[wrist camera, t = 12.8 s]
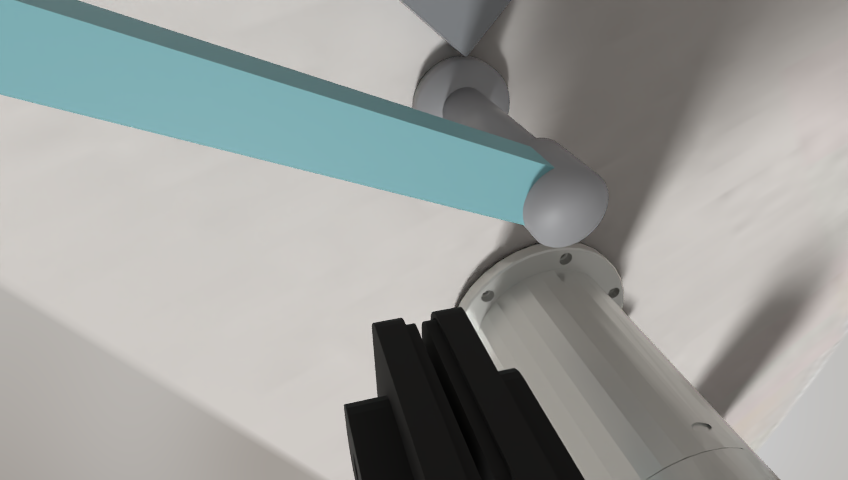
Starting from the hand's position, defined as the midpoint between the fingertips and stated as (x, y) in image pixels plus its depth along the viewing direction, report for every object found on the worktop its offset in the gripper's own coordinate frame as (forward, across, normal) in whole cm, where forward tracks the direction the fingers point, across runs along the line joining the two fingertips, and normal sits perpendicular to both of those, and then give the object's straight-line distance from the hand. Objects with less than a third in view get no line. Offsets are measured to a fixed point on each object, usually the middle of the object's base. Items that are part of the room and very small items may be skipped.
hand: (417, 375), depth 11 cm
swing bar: (+12, +1, -2) cm, 12 cm away
